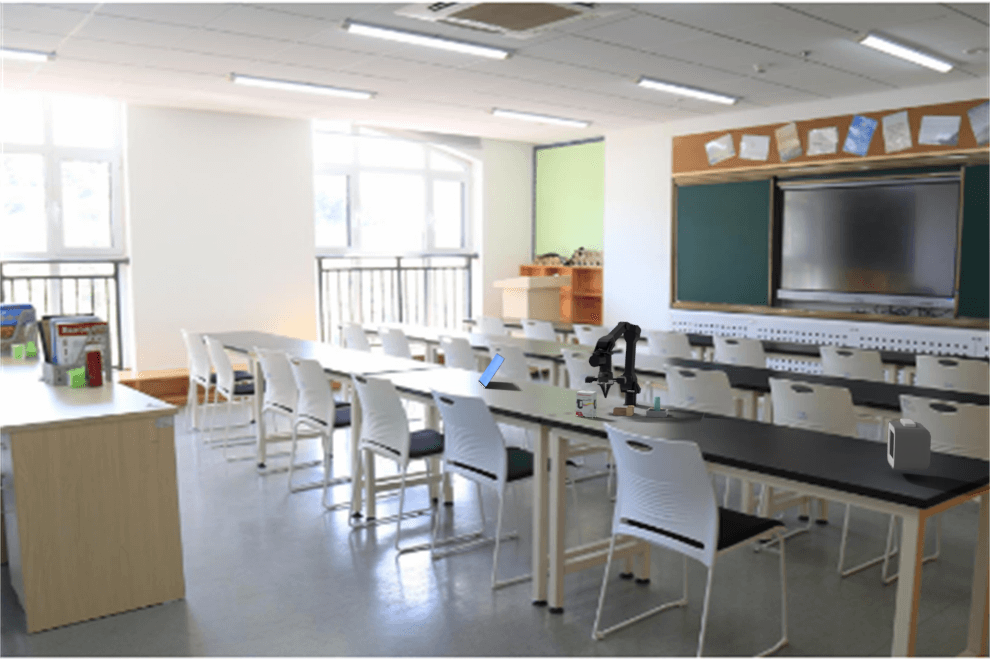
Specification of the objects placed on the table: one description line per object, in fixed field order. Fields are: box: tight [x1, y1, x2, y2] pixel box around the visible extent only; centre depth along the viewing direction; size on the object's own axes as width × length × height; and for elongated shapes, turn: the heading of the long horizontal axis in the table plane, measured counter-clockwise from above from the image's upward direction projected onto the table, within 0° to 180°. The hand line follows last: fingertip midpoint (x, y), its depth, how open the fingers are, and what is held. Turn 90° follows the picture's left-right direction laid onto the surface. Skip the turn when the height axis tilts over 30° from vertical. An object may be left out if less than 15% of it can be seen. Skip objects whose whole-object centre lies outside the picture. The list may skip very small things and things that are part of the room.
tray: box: [645, 407, 669, 419], centre depth 399 cm, size 9×9×2 cm
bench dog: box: [625, 406, 635, 417], centre depth 402 cm, size 8×2×4 cm, turn 164°
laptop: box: [477, 353, 506, 389], centre depth 493 cm, size 30×32×18 cm
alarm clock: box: [886, 418, 932, 472], centre depth 294 cm, size 16×11×16 cm
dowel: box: [653, 396, 661, 411], centre depth 399 cm, size 3×3×8 cm
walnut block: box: [612, 406, 627, 416], centre depth 403 cm, size 6×6×3 cm
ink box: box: [575, 390, 598, 418], centre depth 394 cm, size 9×5×12 cm, turn 62°
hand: (605, 397), depth 409 cm, fingers closed
